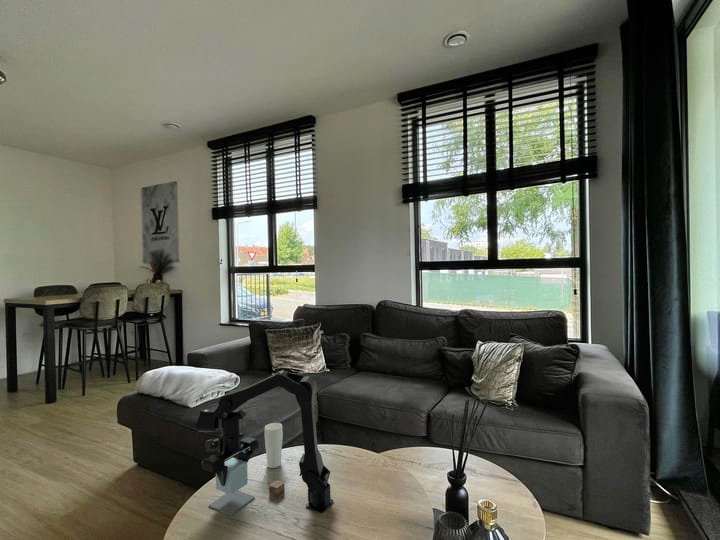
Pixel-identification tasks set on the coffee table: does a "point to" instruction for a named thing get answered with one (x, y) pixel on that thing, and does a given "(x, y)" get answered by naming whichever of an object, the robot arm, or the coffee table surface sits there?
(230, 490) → the pale blue cube
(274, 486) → the walnut block
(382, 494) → the coffee table surface
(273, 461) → the white tall cylinder
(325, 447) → the coffee table surface
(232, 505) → the gray square plate
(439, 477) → the coffee table surface
